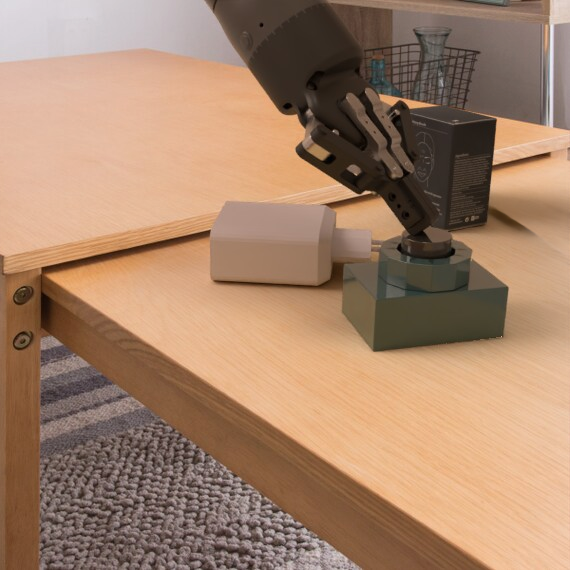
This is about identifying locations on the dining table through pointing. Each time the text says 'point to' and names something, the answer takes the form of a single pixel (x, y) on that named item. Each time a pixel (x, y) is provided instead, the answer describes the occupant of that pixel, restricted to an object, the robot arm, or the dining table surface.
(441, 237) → the brown push button
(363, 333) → the base
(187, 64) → the dining table surface
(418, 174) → the box
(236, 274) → the charger
